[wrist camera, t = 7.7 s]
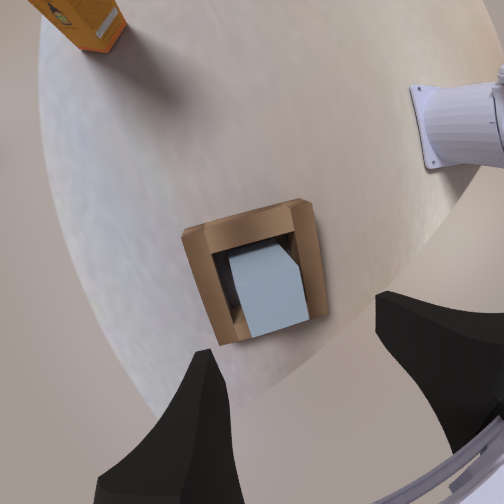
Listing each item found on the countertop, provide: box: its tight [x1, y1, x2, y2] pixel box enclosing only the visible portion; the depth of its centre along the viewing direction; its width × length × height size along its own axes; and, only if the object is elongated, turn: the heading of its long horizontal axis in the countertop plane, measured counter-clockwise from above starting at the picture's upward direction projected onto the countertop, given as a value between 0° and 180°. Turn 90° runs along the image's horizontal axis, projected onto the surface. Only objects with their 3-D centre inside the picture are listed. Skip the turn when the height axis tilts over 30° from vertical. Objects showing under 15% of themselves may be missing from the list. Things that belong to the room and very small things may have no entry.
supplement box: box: [28, 0, 127, 53], centre depth 8 cm, size 3×3×10 cm
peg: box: [227, 239, 309, 338], centre depth 18 cm, size 4×4×6 cm
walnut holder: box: [181, 198, 328, 346], centre depth 19 cm, size 8×8×2 cm
